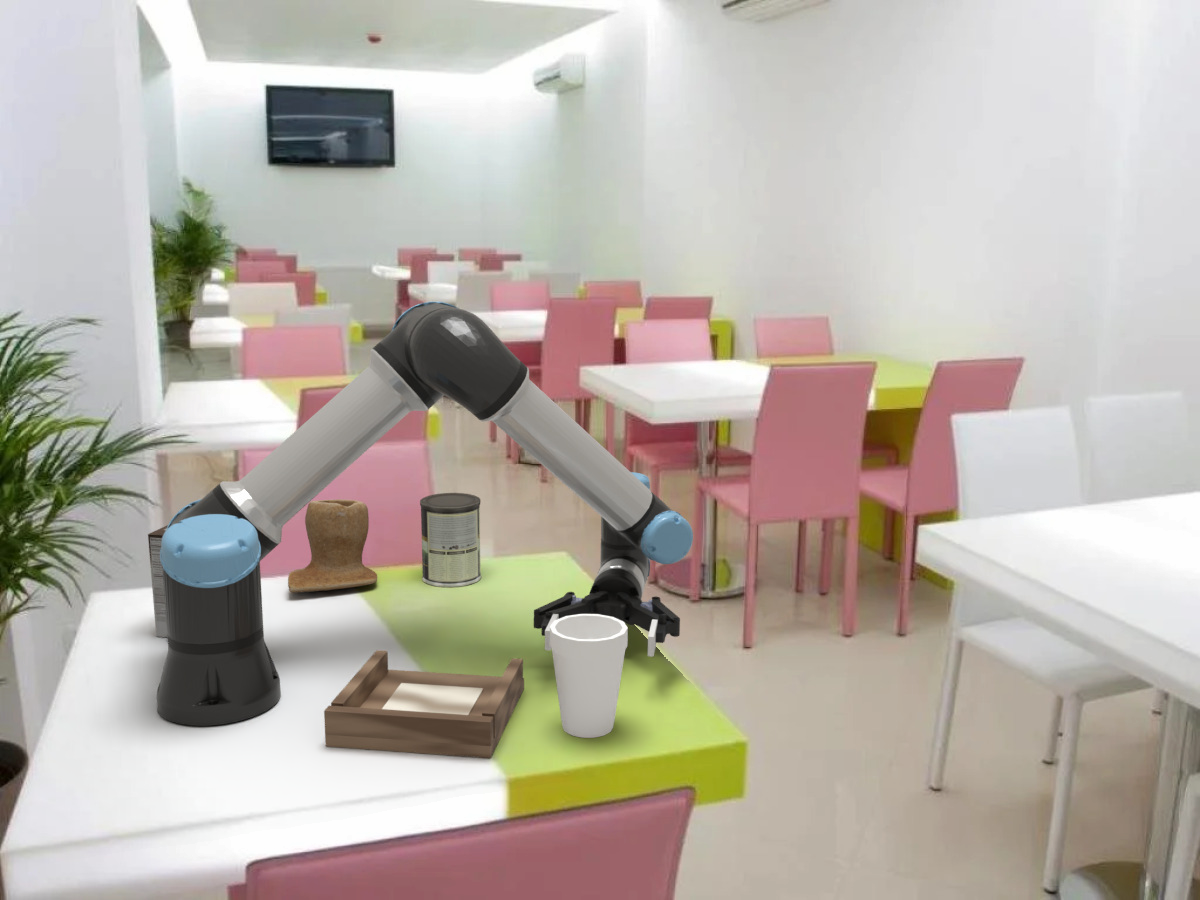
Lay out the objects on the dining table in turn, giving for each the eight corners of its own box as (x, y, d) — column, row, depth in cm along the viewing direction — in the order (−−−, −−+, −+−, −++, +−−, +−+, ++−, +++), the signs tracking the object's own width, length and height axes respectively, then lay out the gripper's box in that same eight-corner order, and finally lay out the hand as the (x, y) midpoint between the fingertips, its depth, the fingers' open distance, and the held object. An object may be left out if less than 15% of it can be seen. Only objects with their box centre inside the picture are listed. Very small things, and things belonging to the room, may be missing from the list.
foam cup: (535, 722, 141) (535, 623, 138) (594, 704, 146) (595, 608, 144) (580, 750, 133) (581, 647, 131) (640, 730, 139) (642, 630, 136)
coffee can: (409, 578, 196) (407, 499, 193) (456, 565, 203) (455, 489, 201) (446, 591, 189) (445, 510, 186) (493, 578, 196) (492, 500, 194)
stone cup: (369, 571, 200) (366, 488, 197) (382, 591, 189) (380, 504, 186) (281, 580, 194) (277, 495, 191) (289, 602, 183) (285, 512, 180)
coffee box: (188, 616, 176) (181, 517, 173) (225, 619, 175) (219, 519, 172) (154, 637, 167) (146, 533, 164) (193, 640, 166) (186, 536, 163)
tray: (379, 679, 153) (378, 648, 152) (524, 688, 151) (524, 656, 150) (325, 746, 134) (324, 710, 133) (490, 758, 131) (490, 722, 130)
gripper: (700, 619, 167) (693, 676, 147) (534, 610, 170) (505, 664, 150) (701, 571, 166) (695, 621, 145) (534, 563, 169) (505, 611, 148)
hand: (598, 643), depth 148 cm, fingers open, 13 cm apart
